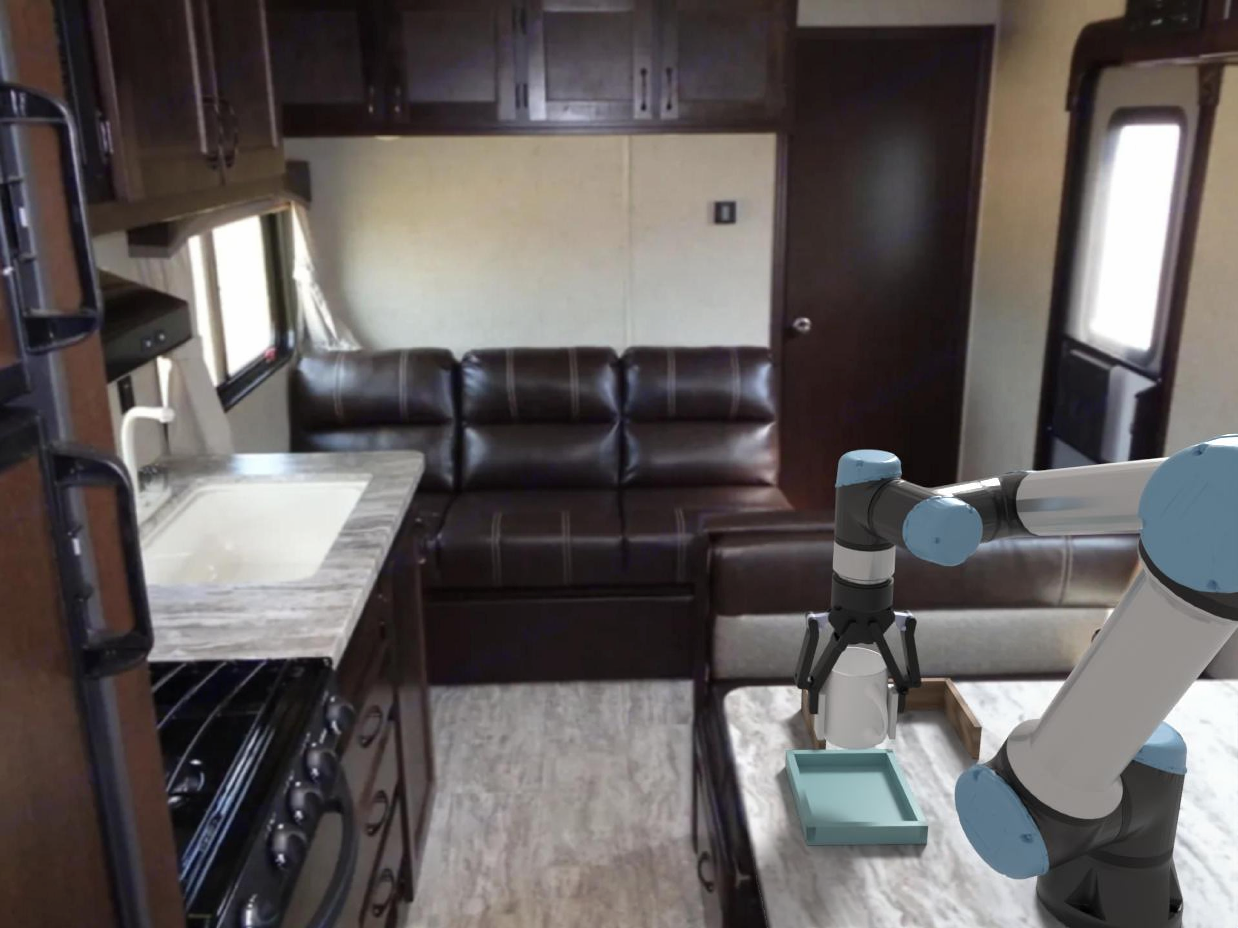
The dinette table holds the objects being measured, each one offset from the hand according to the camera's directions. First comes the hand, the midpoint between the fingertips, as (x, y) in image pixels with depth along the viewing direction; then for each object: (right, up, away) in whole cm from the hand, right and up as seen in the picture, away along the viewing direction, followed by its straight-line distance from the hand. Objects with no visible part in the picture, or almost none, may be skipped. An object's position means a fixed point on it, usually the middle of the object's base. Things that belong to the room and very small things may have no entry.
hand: (854, 733), depth 136 cm
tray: (0, -10, +3) cm, 10 cm away
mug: (+1, -1, 0) cm, 1 cm away
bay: (+9, -5, +20) cm, 22 cm away
